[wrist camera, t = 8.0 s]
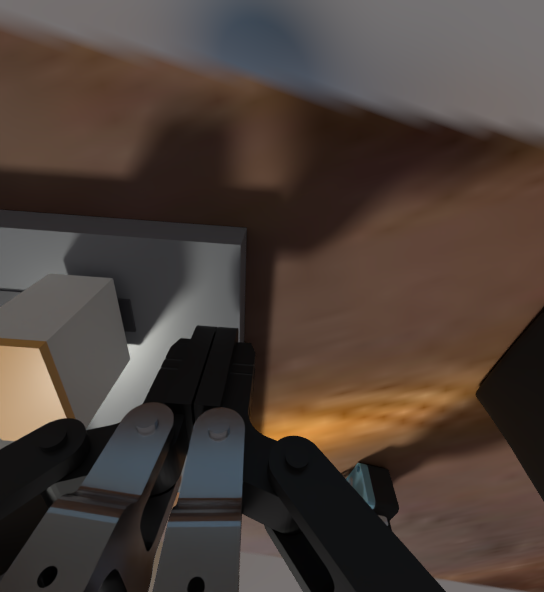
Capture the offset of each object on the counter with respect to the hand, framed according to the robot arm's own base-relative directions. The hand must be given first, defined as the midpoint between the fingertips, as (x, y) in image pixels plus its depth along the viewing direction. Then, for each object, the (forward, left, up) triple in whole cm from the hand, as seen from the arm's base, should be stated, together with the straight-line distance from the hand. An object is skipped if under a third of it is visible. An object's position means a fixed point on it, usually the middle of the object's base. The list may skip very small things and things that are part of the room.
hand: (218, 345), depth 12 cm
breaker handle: (+5, 0, -1) cm, 5 cm away
